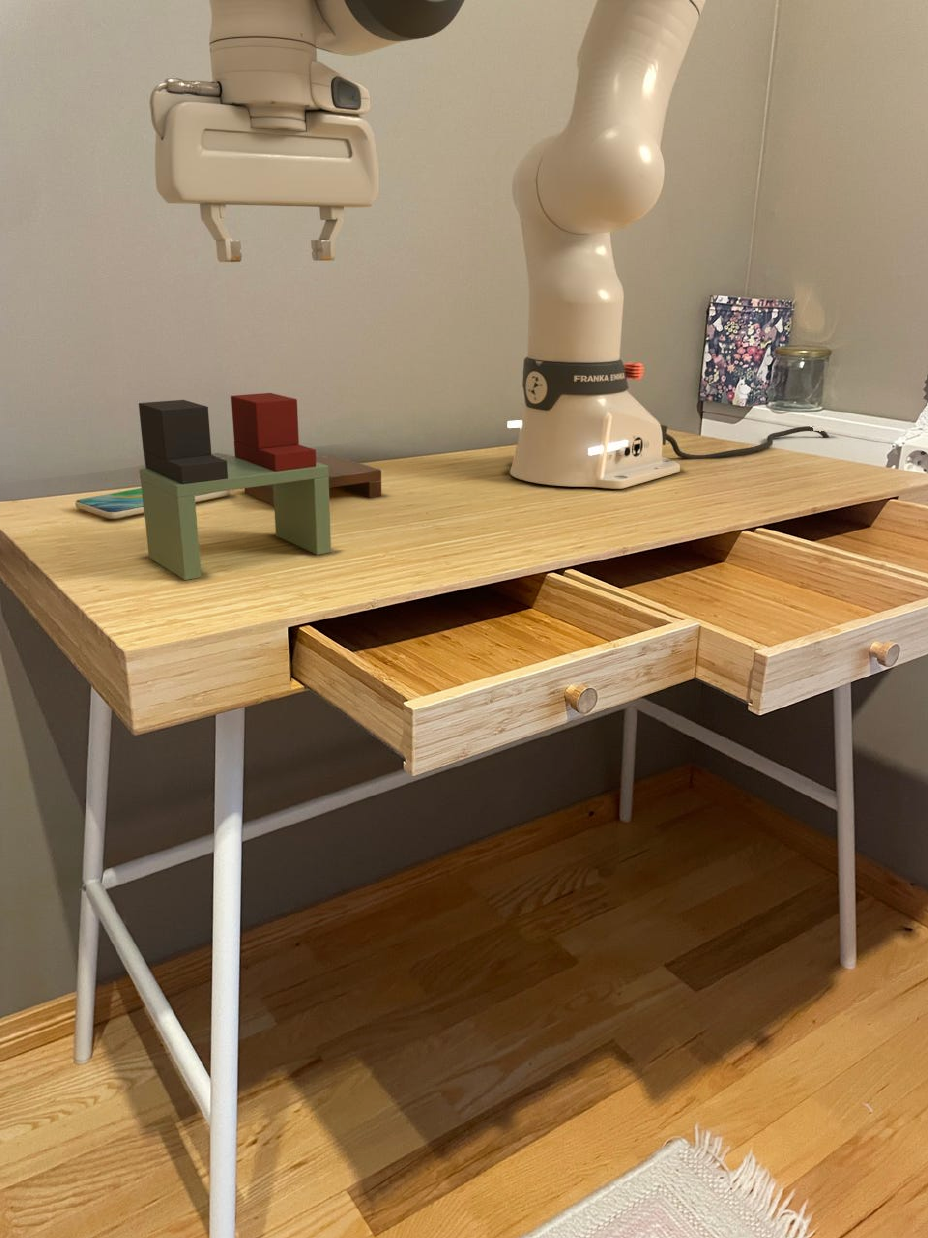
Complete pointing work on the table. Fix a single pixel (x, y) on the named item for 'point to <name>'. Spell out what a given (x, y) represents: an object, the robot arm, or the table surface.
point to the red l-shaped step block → (269, 432)
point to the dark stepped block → (179, 442)
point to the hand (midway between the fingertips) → (278, 261)
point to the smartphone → (126, 503)
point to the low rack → (336, 479)
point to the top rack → (294, 490)
